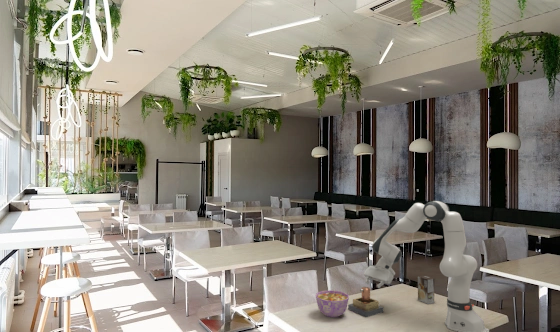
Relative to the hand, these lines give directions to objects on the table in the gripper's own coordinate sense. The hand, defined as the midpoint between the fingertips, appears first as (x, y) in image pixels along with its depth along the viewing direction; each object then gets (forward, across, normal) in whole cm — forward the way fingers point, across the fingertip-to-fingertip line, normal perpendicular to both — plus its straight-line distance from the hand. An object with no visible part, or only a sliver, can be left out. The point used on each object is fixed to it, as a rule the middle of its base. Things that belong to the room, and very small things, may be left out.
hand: (372, 285), depth 241 cm
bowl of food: (+30, -6, -9) cm, 32 cm away
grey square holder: (+14, 0, +7) cm, 16 cm away
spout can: (+12, 0, +5) cm, 13 cm away
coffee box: (-19, +9, +40) cm, 45 cm away
